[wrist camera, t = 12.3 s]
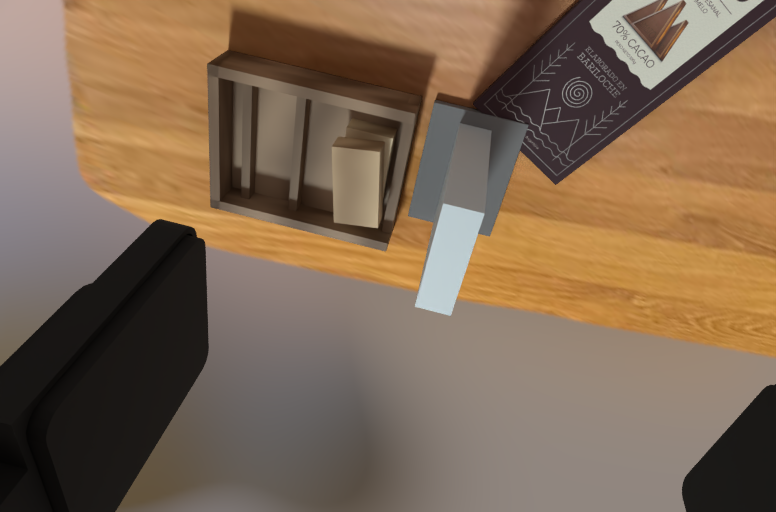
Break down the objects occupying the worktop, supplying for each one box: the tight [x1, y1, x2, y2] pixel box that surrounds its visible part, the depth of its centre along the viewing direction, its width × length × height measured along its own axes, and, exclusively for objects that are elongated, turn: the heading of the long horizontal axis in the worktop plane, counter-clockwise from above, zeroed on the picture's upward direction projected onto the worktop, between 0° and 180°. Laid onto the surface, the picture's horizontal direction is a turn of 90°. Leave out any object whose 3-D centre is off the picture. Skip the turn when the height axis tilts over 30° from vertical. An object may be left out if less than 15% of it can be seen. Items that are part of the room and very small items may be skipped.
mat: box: [408, 100, 528, 236], centre depth 44 cm, size 7×10×1 cm
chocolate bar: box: [473, 0, 776, 185], centre depth 37 cm, size 9×1×18 cm
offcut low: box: [345, 118, 397, 199], centre depth 43 cm, size 4×7×2 cm, turn 169°
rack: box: [207, 50, 422, 251], centre depth 44 cm, size 15×12×4 cm
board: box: [415, 123, 492, 316], centre depth 39 cm, size 2×8×12 cm, turn 169°
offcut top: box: [332, 137, 385, 228], centre depth 42 cm, size 4×6×2 cm, turn 178°
